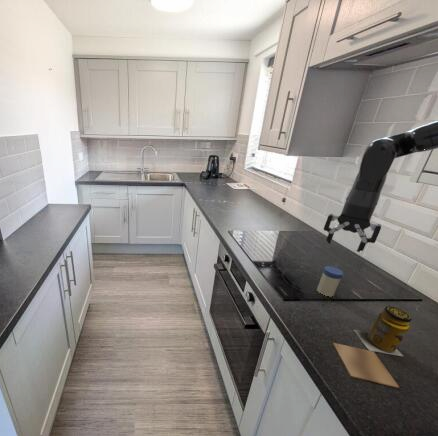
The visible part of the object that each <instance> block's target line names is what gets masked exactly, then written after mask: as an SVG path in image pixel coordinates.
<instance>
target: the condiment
mask: <svg viewBox="0 0 438 436" xmlns="http://www.w3.org/2000/svg"><path fill="white" fill-rule="evenodd" d="M411 321H412V316H411V315H410V313H408V312H407V311H406V310H404V309H401V308H398V307H396V306H391V305H387V306H385V307H384V309H383V310H382V312H380V313H379V314H378V316H377V318H376V319H375V321H374V323H373V325H372V327H371V329H370V331H365V330H358V329H353V332H354V333H355V334H356V336H357V337H358V338H359V340H360V341H361V343H363V345H364V346H365V347H366V348H367V350H369V351H373V352H374V353H376V352H377V353H381V354H387V355H392V356H399V357H404V355H403V354H402V352H401V351H400V350H398V347H399V345H400V344H401V342H402V340H403V339H404V337H405V335H406V333H407V332H408V331H409V329H410V324H411V323H410V322H411Z"/></svg>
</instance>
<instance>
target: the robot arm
mask: <svg viewBox="0 0 438 436" xmlns="http://www.w3.org/2000/svg"><path fill="white" fill-rule="evenodd" d="M424 149H425V150H424ZM437 149H438V120H436V121H433V122H430V123H427V124H423V125H421V126H417V127H416V128H413V129H411V130H408V131H404V132H401V133H397V134H393V135H390V136H385V137H383V138H378V139H375V140H373V141H372V142H370V143H369V144H368V145H367V146H366V147H365V149H364V152H363V155H362V157H361V161H360V165H359V169H358V172H357V174H356V176H355V179H354V181H353V183H352V186H351V189H350V191H349V192H348V194H347V196H346V198H345V202H344V205H343V208H342V210H341V213H340V215H335V214H334V213H329V214H328V216H327V217H326V221H325V224H324V226H323V231H325V232H327V233H328V234H327V237H326V242H327V243H328V244H331V243H332V241H333V238H334V236H335V233H336V232H339V231H341V229H342V231H346V232H351V233H353V234H355V233H357V234H358V236H359V238H360V243H359V245H358V247H357V250H356V252H357V253H360V252H363V251H364V249H365V247H366V246H367V244H368V243H371V244H375V243H376V241H377V239H378V237H379V234H380V232H381V229H382V224H380V223H377V224H375V223H371V219H372V216H373V214H374V212H375V210H376V207H377V205H378V202H379V200H380V197H381V193H382V190H383V188H384V186H385V184H386V181H387V178H388V177H387V176H388V173H389V172H390V169H391V167H392V164H393V162H394V161H395V159H398V158H401V157H404V156H405V157H406V156H408V155H412V154H415V153H416V154H417V153H422V152H427V151H432V150H437ZM335 220H337V222H338V224H336V225H335V226H333V227H330V226H331V223H332V222H334V221H335ZM368 228H370V230H371V231H372V234H371V237H368V236H367V234H366V232H365V230H366V229H368Z"/></svg>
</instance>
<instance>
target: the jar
mask: <svg viewBox="0 0 438 436" xmlns="http://www.w3.org/2000/svg"><path fill="white" fill-rule="evenodd" d="M341 280H342V278H341V279H334V278H331V277H328V276H327V275H325V274H324V273H323V272H322V274H321V277H320V280H319V282H318V283H317V284H318V285H317V287H316V292H318V293H319V294H320V293H321V294H320V295H322V294H323V295H322V296H324V295H325V296H324V297H327V296H329V297H328V298H333V297H334V296H335V295H336V291H337V289H338V288H339V284H340V283H341ZM332 296H333V297H332Z"/></svg>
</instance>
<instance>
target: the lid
mask: <svg viewBox="0 0 438 436" xmlns="http://www.w3.org/2000/svg"><path fill="white" fill-rule="evenodd" d="M323 273H324V274H325V275H327V276H328V277H331V278H334V279H341V280H342V279H343V276H344V271H342V269H340V268H337V267H334V266H331V265H326V266H324V267H323V270H322V274H323Z"/></svg>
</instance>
